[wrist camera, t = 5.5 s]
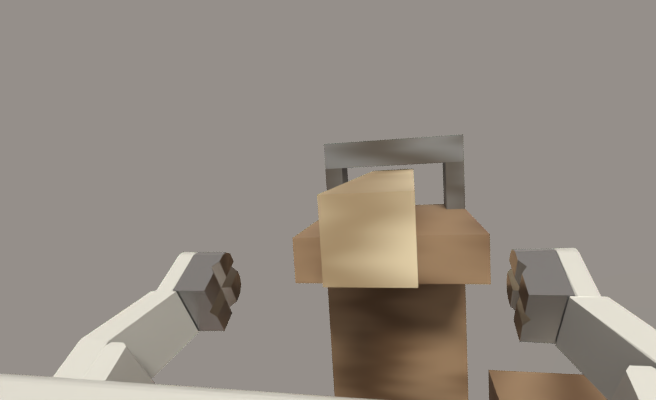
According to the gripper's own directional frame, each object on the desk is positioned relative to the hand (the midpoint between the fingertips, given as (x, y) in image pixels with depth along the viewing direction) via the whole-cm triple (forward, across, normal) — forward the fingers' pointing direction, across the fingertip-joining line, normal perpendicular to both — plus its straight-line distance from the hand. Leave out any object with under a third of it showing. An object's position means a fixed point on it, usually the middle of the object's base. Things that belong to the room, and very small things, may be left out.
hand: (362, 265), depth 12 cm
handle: (+5, 0, -3) cm, 6 cm away
